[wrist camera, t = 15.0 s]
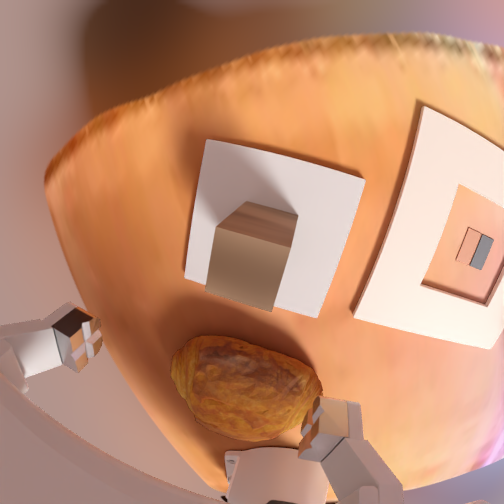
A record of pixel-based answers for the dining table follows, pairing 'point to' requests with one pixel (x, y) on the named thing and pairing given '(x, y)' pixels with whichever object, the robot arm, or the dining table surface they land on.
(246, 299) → the walnut block
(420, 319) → the hole board
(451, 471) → the dining table surface
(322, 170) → the grey pad
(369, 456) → the robot arm
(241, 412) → the croissant
